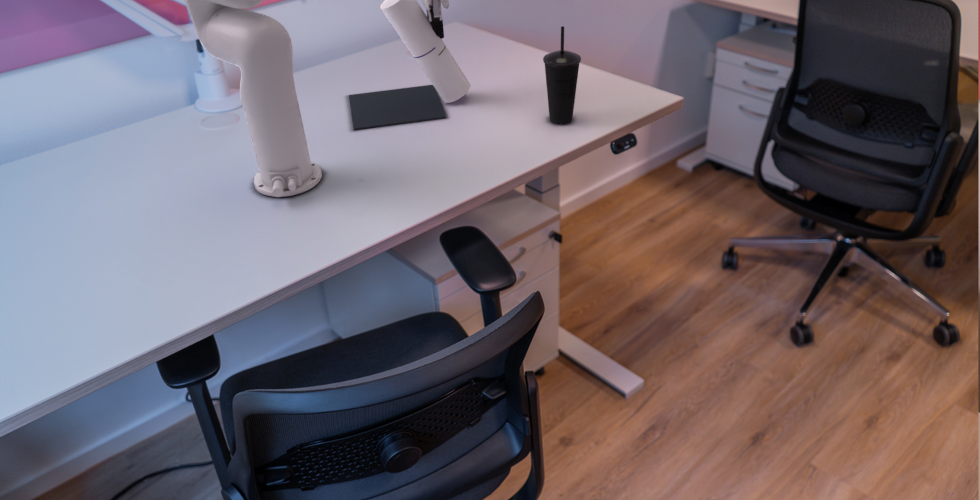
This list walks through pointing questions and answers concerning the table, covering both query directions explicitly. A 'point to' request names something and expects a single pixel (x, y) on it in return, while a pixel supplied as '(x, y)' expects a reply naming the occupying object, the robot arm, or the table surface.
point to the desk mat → (395, 107)
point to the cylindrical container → (427, 48)
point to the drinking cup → (561, 83)
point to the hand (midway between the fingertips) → (436, 37)
